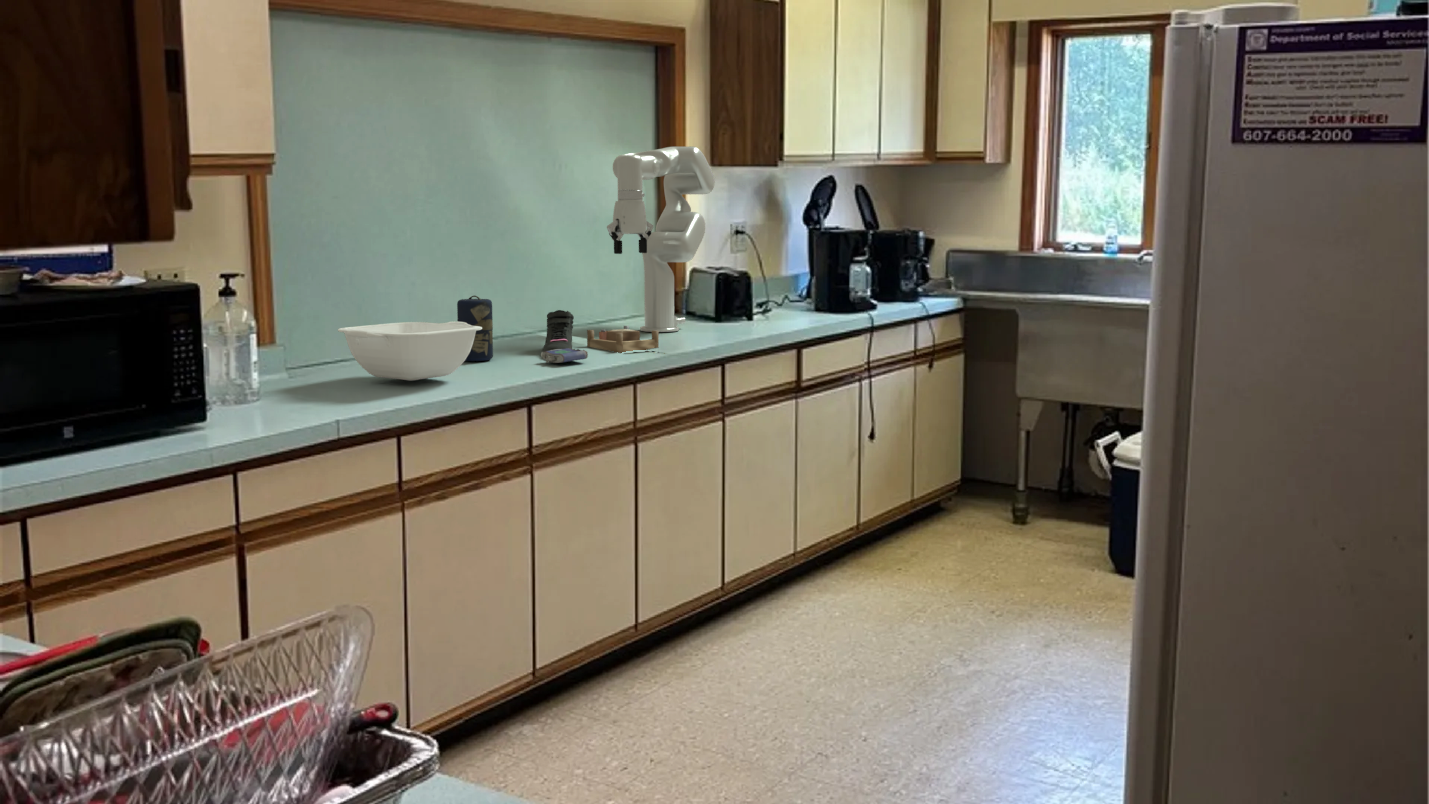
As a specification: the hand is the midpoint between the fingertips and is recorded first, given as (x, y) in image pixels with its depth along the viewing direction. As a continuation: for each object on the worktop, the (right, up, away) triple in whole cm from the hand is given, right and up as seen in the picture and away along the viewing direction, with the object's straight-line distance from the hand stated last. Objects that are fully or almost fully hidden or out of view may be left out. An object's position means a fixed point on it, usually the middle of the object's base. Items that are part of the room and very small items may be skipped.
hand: (630, 253), depth 418 cm
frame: (-1, -30, -12) cm, 32 cm away
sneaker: (-19, -32, -25) cm, 45 cm away
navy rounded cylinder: (-40, -34, -40) cm, 66 cm away
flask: (-13, -35, -40) cm, 55 cm away
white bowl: (-50, -39, -75) cm, 98 cm away
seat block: (-1, -30, -12) cm, 33 cm away
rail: (-4, -29, -7) cm, 30 cm away
